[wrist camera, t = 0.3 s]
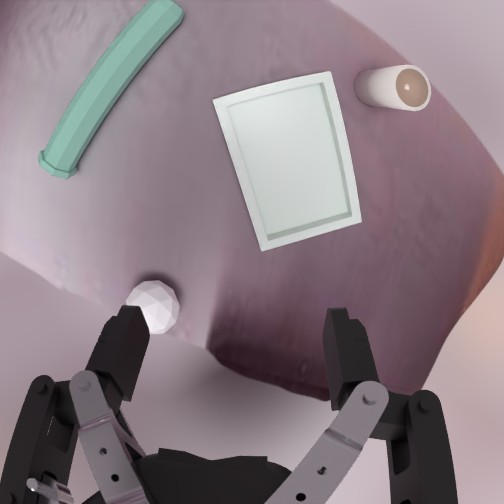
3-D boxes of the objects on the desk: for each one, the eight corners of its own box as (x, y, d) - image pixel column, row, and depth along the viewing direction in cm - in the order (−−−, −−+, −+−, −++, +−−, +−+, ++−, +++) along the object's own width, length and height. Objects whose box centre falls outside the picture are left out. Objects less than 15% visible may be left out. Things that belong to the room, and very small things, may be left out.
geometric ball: (173, 282, 47) (198, 318, 43) (137, 313, 46) (159, 351, 42) (147, 259, 41) (173, 299, 37) (108, 295, 40) (128, 338, 36)
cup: (349, 72, 32) (387, 66, 23) (382, 68, 32) (425, 63, 23) (358, 108, 34) (398, 113, 25) (391, 103, 34) (434, 108, 25)
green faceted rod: (159, -16, 21) (32, 165, 28) (198, 13, 25) (71, 184, 32) (154, -8, 25) (42, 148, 32) (188, 16, 29) (76, 165, 36)
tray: (213, 100, 33) (212, 99, 31) (324, 72, 32) (330, 71, 30) (259, 243, 42) (261, 251, 40) (354, 215, 41) (361, 221, 39)
